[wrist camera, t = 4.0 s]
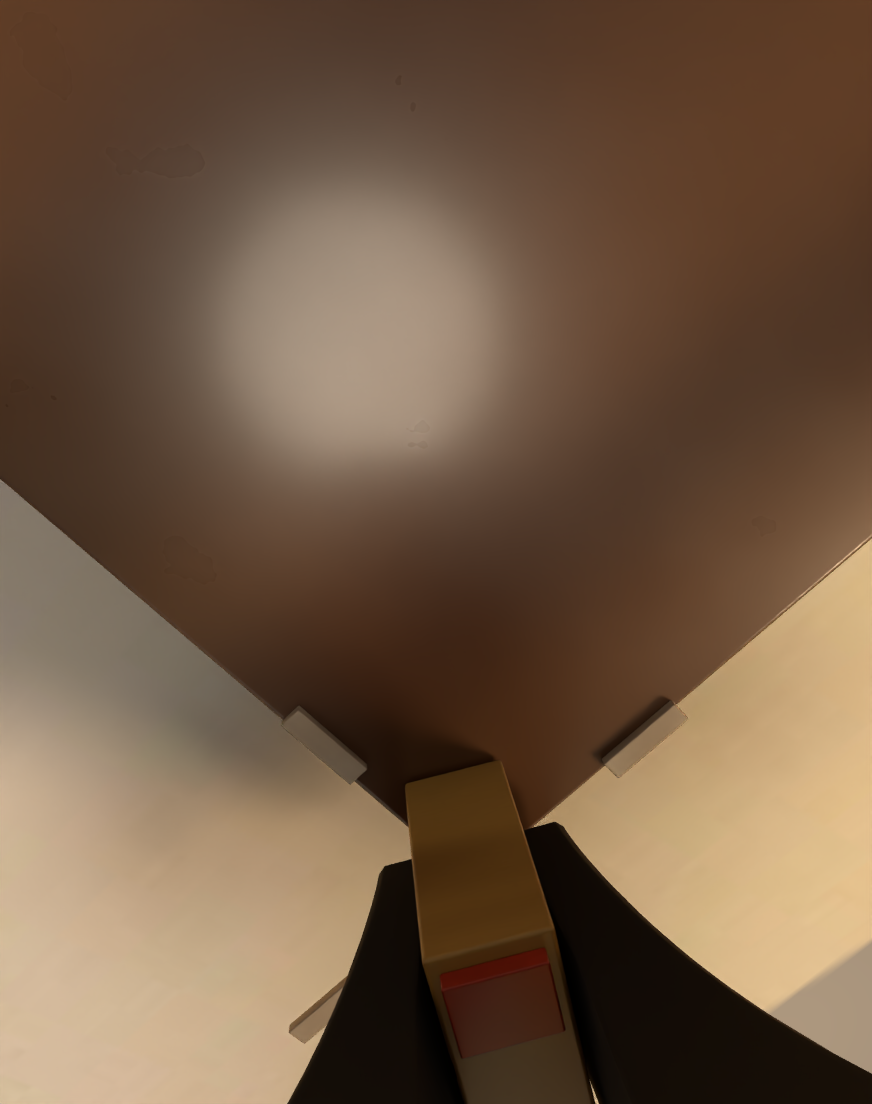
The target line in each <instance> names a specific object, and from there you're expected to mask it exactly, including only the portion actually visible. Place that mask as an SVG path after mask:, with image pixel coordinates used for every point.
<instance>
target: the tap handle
mask: <svg viewBox="0 0 872 1104" xmlns="http://www.w3.org/2000/svg"><path fill="white" fill-rule="evenodd" d="M405 795H406V805H407V815H408V826H409V836H410V846H411V856H412V866H413V877H414V887H415V897H416V907H417V918H418V928H419V938H420V948H421V958H422V965H423V968H424V971H425V975H426V978H427V981H428V985H429V988H430V992H431V995H432V998H433V1002H434V1005H435V1008H436V1012H437V1015H438V1018H439V1022H440V1025H441V1029H442V1032H443V1035H444V1039H445V1042H446V1045H447V1049H448V1052H449V1055H450V1059H451V1062H452V1066H453V1069H454V1072H455V1076H456V1079H457V1082H458V1086H459V1089H460V1093H461V1096H462V1099H463V1103H464V1104H595V1101H594V1096H593V1092H592V1088H591V1083H590V1079H589V1075H588V1070H587V1066H586V1062H585V1057H584V1053H583V1049H582V1044H581V1040H580V1036H579V1031H578V1027H577V1022H576V1018H575V1014H574V1009H573V1005H572V1001H571V996H570V992H569V988H568V983H567V979H566V975H565V970H564V966H563V962H562V957H561V953H560V949H559V944H558V940H557V936H556V931H555V927H554V924H553V921H552V918H551V915H550V912H549V908H548V905H547V902H546V899H545V896H544V893H543V890H542V887H541V883H540V880H539V877H538V874H537V871H536V868H535V865H534V862H533V858H532V855H531V852H530V849H529V846H528V843H527V840H526V837H525V833H524V830H523V827H522V824H521V821H520V818H519V815H518V812H517V809H516V805H515V802H514V799H513V796H512V793H511V790H510V787H509V784H508V780H507V777H506V774H505V771H504V768H503V765H502V763H501V761H500V760H496V761H492V762H488V763H484V764H480V765H476V766H472V767H469V768H465V769H461V770H457V771H453V772H449V773H445V774H441V775H437V776H434V777H430V778H426V779H422V780H418V781H414V782H410V783H407V784H406V785H405Z"/></svg>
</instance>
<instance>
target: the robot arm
mask: <svg viewBox="0 0 872 1104" xmlns="http://www.w3.org/2000/svg"><path fill="white" fill-rule="evenodd" d="M524 833H525V837H526V840H527V843H528V846H529V849H530V852H531V855H532V858H533V862H534V865H535V868H536V871H537V874H538V877H539V880H540V883H541V887H542V890H543V893H544V896H545V899H546V902H547V905H548V908H549V912H550V915H551V918H552V921H553V924H554V927H555V931H556V936H557V940H558V944H559V949H560V953H561V957H562V962H563V966H564V970H565V975H566V979H567V983H568V988H569V992H570V996H571V1001H572V1005H573V1009H574V1014H575V1018H576V1022H577V1027H578V1031H579V1036H580V1040H581V1044H582V1049H583V1053H584V1057H585V1062H586V1066H587V1070H588V1075H589V1079H590V1081H591V1084H592V1087H593V1089H594V1092H595V1094H596V1097H597V1099H598V1102H599V1104H872V1074H871V1073H869V1072H867V1071H866V1070H864V1069H862V1068H860V1067H858V1066H856V1065H854V1064H852V1063H851V1062H849V1061H847V1060H845V1059H843V1058H841V1057H839V1056H838V1055H836V1054H834V1053H832V1052H830V1051H829V1050H827V1049H825V1048H824V1047H822V1046H820V1045H819V1044H817V1043H816V1042H814V1041H812V1040H810V1039H809V1038H807V1037H805V1036H804V1035H802V1034H801V1033H799V1032H797V1031H796V1030H794V1029H792V1028H791V1027H789V1026H787V1025H786V1024H784V1023H782V1022H781V1021H779V1020H777V1019H776V1018H774V1017H772V1016H771V1015H769V1014H768V1013H766V1012H765V1011H763V1010H762V1009H760V1008H759V1007H757V1006H756V1005H754V1004H753V1003H751V1002H750V1001H749V1000H747V999H746V998H744V997H743V996H741V995H740V994H738V993H737V992H735V991H734V990H733V989H731V988H730V987H728V986H727V985H726V984H724V983H723V982H722V981H720V980H719V979H718V978H716V977H715V976H714V975H712V974H711V973H710V972H708V971H707V970H706V969H704V968H703V967H702V966H700V965H699V964H698V963H697V962H695V961H694V960H693V959H692V958H690V957H689V956H688V955H687V954H686V953H684V952H683V951H682V950H681V949H679V948H678V947H677V946H676V945H675V944H674V943H672V942H671V941H670V940H669V939H668V938H667V937H666V936H664V935H663V934H662V933H661V932H660V931H659V930H658V929H656V928H655V927H654V926H653V925H652V924H651V923H650V922H649V921H648V920H647V919H646V918H644V917H643V916H642V915H641V914H640V913H639V912H638V911H637V910H636V909H635V908H634V907H633V906H632V905H631V904H630V903H629V902H628V901H627V900H626V899H625V898H624V897H623V896H622V895H621V894H620V893H619V892H618V891H617V890H616V889H615V888H614V887H613V886H612V885H611V884H610V883H609V882H608V881H607V880H606V879H605V878H604V877H603V876H602V874H601V873H600V872H599V871H598V870H597V869H596V868H595V867H594V865H593V864H592V863H591V862H590V861H589V860H588V859H587V857H586V856H585V855H584V854H583V853H582V851H581V850H580V849H579V848H578V846H577V845H576V844H575V842H574V841H573V840H572V838H571V837H570V836H569V834H568V833H567V831H566V830H565V828H564V827H563V826H562V825H560V824H558V823H556V822H552V823H549V824H545V825H541V826H537V827H533V828H529V829H526V830H524ZM288 1104H464V1103H463V1099H462V1096H461V1093H460V1089H459V1086H458V1082H457V1079H456V1076H455V1072H454V1069H453V1066H452V1062H451V1059H450V1055H449V1052H448V1049H447V1045H446V1042H445V1039H444V1035H443V1032H442V1029H441V1025H440V1022H439V1018H438V1015H437V1012H436V1008H435V1005H434V1002H433V998H432V995H431V992H430V988H429V985H428V981H427V978H426V975H425V971H424V968H423V965H422V958H421V948H420V938H419V928H418V918H417V907H416V897H415V887H414V877H413V866H412V859H410V860H407V861H403V862H399V863H395V864H391V865H387V866H385V867H384V868H383V870H382V871H381V873H380V874H379V878H378V883H377V887H376V891H375V895H374V899H373V902H372V906H371V909H370V912H369V916H368V919H367V922H366V925H365V928H364V931H363V935H362V938H361V941H360V943H359V946H358V949H357V952H356V954H355V957H354V960H353V963H352V965H351V968H350V971H349V974H348V976H347V979H346V981H345V984H344V986H343V989H342V991H341V994H340V996H339V998H338V1001H337V1003H336V1005H335V1008H334V1010H333V1012H332V1014H331V1017H330V1019H329V1021H328V1024H327V1026H326V1028H325V1031H324V1033H323V1035H322V1037H321V1039H320V1042H319V1044H318V1046H317V1048H316V1050H315V1052H314V1054H313V1056H312V1058H311V1060H310V1062H309V1064H308V1066H307V1068H306V1070H305V1072H304V1074H303V1076H302V1078H301V1080H300V1081H299V1083H298V1085H297V1087H296V1089H295V1091H294V1093H293V1095H292V1096H291V1098H290V1100H289V1102H288Z"/></svg>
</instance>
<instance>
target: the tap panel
mask: <svg viewBox="0 0 872 1104" xmlns="http://www.w3.org/2000/svg"><path fill="white" fill-rule="evenodd" d="M0 479H1V480H2V481H4V482H5V483H6V484H7V485H8V486H9V487H11V488H12V489H13V490H14V491H15V492H16V493H18V494H19V495H20V496H21V497H22V498H23V499H25V500H26V501H27V502H28V503H29V504H30V505H32V506H33V507H34V508H35V509H36V510H37V511H39V512H40V513H41V514H42V515H43V516H44V517H46V518H47V519H48V520H49V521H50V522H52V523H53V524H54V525H55V526H56V527H57V528H59V529H60V530H61V531H62V532H63V533H64V534H66V535H67V536H68V537H69V538H70V539H71V540H73V541H74V542H75V543H76V544H77V545H78V546H80V547H81V548H82V549H83V550H84V551H85V552H87V553H88V554H89V555H90V556H91V557H93V558H94V559H95V560H96V561H97V562H98V563H100V564H101V565H102V566H103V567H104V568H105V569H107V570H108V571H109V572H110V573H111V574H112V575H114V576H115V577H116V578H117V579H118V580H119V581H121V582H122V583H123V584H124V585H125V586H126V587H128V588H129V589H130V590H131V591H132V592H134V593H135V594H136V595H137V596H138V597H139V598H141V599H142V600H143V601H144V602H145V603H146V604H148V605H149V606H150V607H151V608H152V609H153V610H155V611H156V612H157V613H158V614H159V615H160V616H162V617H163V618H164V619H165V620H166V621H167V622H169V623H170V624H171V625H172V626H173V627H175V628H176V629H177V630H178V631H179V632H180V633H182V634H183V635H184V636H185V637H186V638H187V639H189V640H190V641H191V642H192V643H193V644H194V645H196V646H197V647H198V648H199V649H200V650H201V651H203V652H204V653H205V654H206V655H207V656H208V657H210V658H211V659H212V660H213V661H214V662H215V663H217V664H218V665H219V666H220V667H221V668H223V669H224V670H225V671H226V672H227V673H228V674H230V675H231V676H232V677H233V678H234V679H235V680H237V681H238V682H239V683H240V684H241V685H242V686H244V687H245V688H246V689H247V690H248V691H249V692H251V693H252V694H253V695H254V696H255V697H256V698H258V699H259V700H260V701H261V702H262V703H264V704H265V705H266V706H267V707H268V708H269V709H271V710H272V711H273V712H274V713H275V714H276V715H278V716H279V717H280V718H281V719H282V720H283V721H282V724H281V726H282V727H283V728H284V729H285V730H286V731H288V732H289V733H290V734H291V735H292V736H294V737H295V738H296V739H297V740H298V741H299V742H301V743H302V744H303V745H304V746H305V747H306V748H308V749H309V750H310V751H311V752H312V753H314V754H315V755H316V756H317V757H318V758H319V759H321V760H322V761H323V762H324V763H325V764H326V765H328V766H329V767H330V768H331V769H332V770H334V771H335V772H336V773H337V774H338V775H339V776H341V777H342V778H343V779H344V780H345V781H346V782H348V783H349V784H351V783H353V782H354V781H355V782H356V783H357V784H358V785H360V786H361V787H362V788H363V789H364V790H365V791H367V792H368V793H369V794H370V795H371V796H372V797H374V798H375V799H376V800H377V801H378V802H379V803H381V804H382V805H383V806H384V807H385V808H386V809H388V810H389V811H390V812H391V813H392V814H394V815H395V816H396V817H397V818H398V819H399V820H401V821H402V822H403V823H404V824H405V825H406V826H408V815H407V805H406V795H405V785H406V784H407V783H410V782H414V781H418V780H422V779H426V778H430V777H434V776H437V775H441V774H445V773H449V772H453V771H457V770H461V769H465V768H469V767H472V766H476V765H480V764H484V763H488V762H492V761H496V760H500V761H501V763H502V765H503V768H504V771H505V774H506V777H507V780H508V784H509V787H510V790H511V793H512V796H513V799H514V802H515V805H516V809H517V812H518V815H519V818H520V821H521V824H522V827H523V830H526V829H529V828H532V827H533V826H534V825H535V824H536V823H538V822H539V821H540V820H541V819H542V818H544V817H545V816H546V815H547V814H548V813H549V812H551V811H552V810H553V809H554V808H555V807H556V806H558V805H559V804H560V803H561V802H562V801H564V800H565V799H566V798H567V797H568V796H569V795H571V794H572V793H573V792H574V791H575V790H576V789H578V788H579V787H580V786H581V785H582V784H583V783H585V782H586V781H587V780H588V779H589V778H591V777H592V776H593V775H594V774H595V773H596V772H598V771H599V770H600V769H601V768H602V767H603V766H606V767H607V768H608V769H609V770H610V771H611V772H612V773H613V774H614V775H615V776H617V777H618V778H619V777H621V776H622V775H623V774H624V773H625V772H627V771H628V770H629V769H630V768H631V767H632V766H634V765H635V764H636V763H637V762H638V761H640V760H641V759H642V758H643V757H644V756H645V755H647V754H648V753H649V752H650V751H651V750H653V749H654V748H655V747H656V746H657V745H659V744H660V743H661V742H662V741H663V740H664V739H666V738H667V737H668V736H669V735H670V734H672V733H673V732H674V731H675V730H676V729H677V728H679V727H680V726H681V725H682V724H683V723H685V722H686V721H687V720H688V718H687V716H686V715H685V714H684V713H683V712H682V711H681V710H680V709H679V708H678V707H677V706H676V704H678V703H679V702H680V701H681V700H682V699H683V698H685V697H686V696H687V695H688V694H689V693H690V692H692V691H693V690H694V689H695V688H696V687H697V686H699V685H700V684H701V683H702V682H703V681H705V680H706V679H707V678H708V677H709V676H710V675H712V674H713V673H714V672H715V671H716V670H717V669H719V668H720V667H721V666H722V665H723V664H725V663H726V662H727V661H728V660H729V659H730V658H732V657H733V656H734V655H735V654H736V653H737V652H739V651H740V650H741V649H742V648H743V647H745V646H746V645H747V644H748V643H749V642H750V641H752V640H753V639H754V638H755V637H756V636H757V635H759V634H760V633H761V632H762V631H763V630H764V629H766V628H767V627H768V626H769V625H770V624H772V623H773V622H774V621H775V620H776V619H777V618H779V617H780V616H781V615H782V614H783V613H784V612H786V611H787V610H788V609H789V608H790V607H792V606H793V605H794V604H795V603H796V602H797V601H799V600H800V599H801V598H802V597H803V596H804V595H806V594H807V593H808V592H809V591H810V590H812V589H813V588H814V587H815V586H816V585H817V584H819V583H820V582H821V581H822V580H823V579H824V578H826V577H827V576H828V575H829V574H830V573H831V572H833V571H834V570H835V569H836V568H837V567H839V566H840V565H841V564H842V563H843V562H844V561H846V560H847V559H848V558H849V557H850V556H851V555H853V554H854V553H855V552H856V551H857V550H859V549H860V548H861V547H862V546H863V545H864V544H866V543H867V542H868V541H869V540H870V539H871V538H872V0H0ZM408 827H409V826H408ZM346 979H347V977H345V978H344V979H343V980H342V981H341V982H340V983H338V984H337V985H336V986H335V987H334V988H332V989H331V990H330V991H329V992H328V993H327V994H325V995H324V996H323V997H322V998H321V999H320V1000H318V1001H317V1002H316V1003H315V1004H314V1005H313V1006H311V1007H310V1008H309V1009H308V1010H307V1011H306V1012H304V1013H303V1014H302V1015H301V1016H300V1017H298V1018H297V1019H296V1020H295V1021H294V1022H293V1023H291V1024H290V1027H289V1033H290V1034H291V1035H293V1036H294V1037H296V1038H297V1039H298V1040H300V1041H301V1042H303V1043H304V1044H305V1043H306V1042H307V1041H308V1040H310V1039H311V1038H312V1037H313V1036H314V1035H316V1034H317V1033H318V1032H319V1031H320V1030H321V1029H323V1028H324V1027H325V1026H326V1025H327V1024H328V1021H329V1019H330V1017H331V1014H332V1012H333V1010H334V1008H335V1005H336V1003H337V1001H338V998H339V996H340V994H341V991H342V989H343V986H344V984H345V981H346Z"/></svg>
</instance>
